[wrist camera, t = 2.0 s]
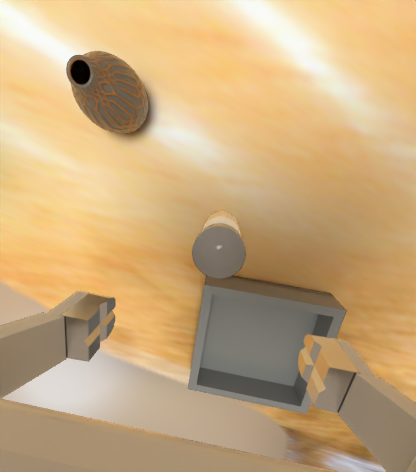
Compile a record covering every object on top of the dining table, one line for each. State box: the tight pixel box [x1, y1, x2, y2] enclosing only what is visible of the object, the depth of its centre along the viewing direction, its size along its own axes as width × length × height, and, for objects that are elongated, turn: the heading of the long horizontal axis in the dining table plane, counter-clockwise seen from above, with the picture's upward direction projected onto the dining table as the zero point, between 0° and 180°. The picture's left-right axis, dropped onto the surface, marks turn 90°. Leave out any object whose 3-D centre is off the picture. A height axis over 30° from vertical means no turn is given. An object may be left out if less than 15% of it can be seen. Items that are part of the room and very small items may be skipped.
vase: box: [66, 51, 148, 134], centre depth 21 cm, size 7×7×9 cm
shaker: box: [192, 211, 246, 278], centre depth 23 cm, size 5×5×11 cm
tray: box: [188, 276, 347, 414], centre depth 30 cm, size 18×18×4 cm
